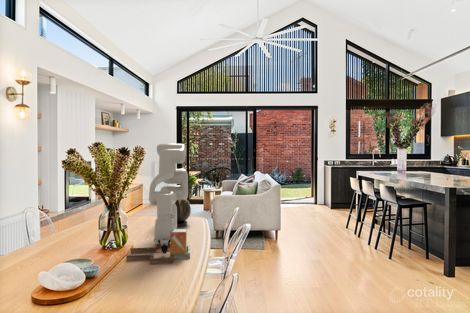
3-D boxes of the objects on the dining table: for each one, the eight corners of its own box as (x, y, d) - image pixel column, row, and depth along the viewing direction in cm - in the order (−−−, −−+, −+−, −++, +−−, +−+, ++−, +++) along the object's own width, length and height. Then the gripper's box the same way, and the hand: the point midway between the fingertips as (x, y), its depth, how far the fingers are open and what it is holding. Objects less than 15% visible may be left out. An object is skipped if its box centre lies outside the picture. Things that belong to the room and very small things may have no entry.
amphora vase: (188, 228, 232) (188, 188, 232) (157, 228, 233) (157, 188, 232) (192, 221, 254) (192, 184, 253) (164, 221, 254) (164, 184, 253)
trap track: (132, 249, 184) (132, 244, 184) (189, 247, 188) (189, 242, 188) (123, 265, 158) (123, 260, 158) (190, 262, 162) (190, 257, 162)
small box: (170, 257, 169) (170, 232, 169) (171, 253, 176) (171, 229, 175) (186, 257, 170) (186, 231, 170) (186, 253, 176) (186, 228, 176)
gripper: (179, 215, 177) (179, 250, 178) (150, 216, 176) (150, 251, 176) (178, 218, 170) (178, 254, 170) (148, 219, 168) (148, 255, 168)
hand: (164, 252), depth 173 cm, fingers closed
